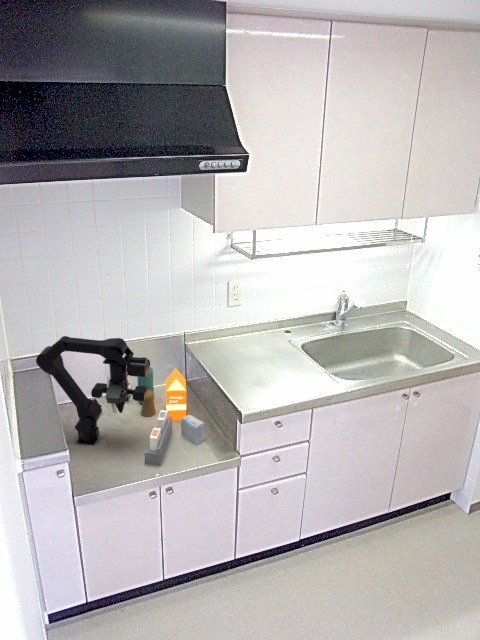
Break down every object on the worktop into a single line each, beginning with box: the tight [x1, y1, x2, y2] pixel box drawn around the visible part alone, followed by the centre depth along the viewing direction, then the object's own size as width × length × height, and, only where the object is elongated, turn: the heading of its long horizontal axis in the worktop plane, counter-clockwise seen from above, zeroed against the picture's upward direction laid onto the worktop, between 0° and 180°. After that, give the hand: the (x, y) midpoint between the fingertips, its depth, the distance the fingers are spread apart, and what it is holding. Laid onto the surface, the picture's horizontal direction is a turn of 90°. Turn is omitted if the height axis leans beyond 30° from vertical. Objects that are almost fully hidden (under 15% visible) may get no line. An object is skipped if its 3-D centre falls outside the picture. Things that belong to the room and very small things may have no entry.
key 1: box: [149, 427, 161, 452], centre depth 191 cm, size 2×6×10 cm, turn 175°
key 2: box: [156, 409, 168, 433], centre depth 201 cm, size 2×6×10 cm, turn 175°
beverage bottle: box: [137, 358, 155, 404], centre depth 222 cm, size 6×7×20 cm
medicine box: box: [180, 414, 205, 445], centre depth 203 cm, size 8×4×9 cm, turn 48°
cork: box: [140, 390, 156, 418], centre depth 216 cm, size 6×6×11 cm
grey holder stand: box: [143, 416, 173, 466], centre depth 197 cm, size 7×20×8 cm, turn 175°
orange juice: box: [165, 367, 187, 422], centre depth 214 cm, size 8×9×20 cm
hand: (121, 412), depth 197 cm, fingers closed
